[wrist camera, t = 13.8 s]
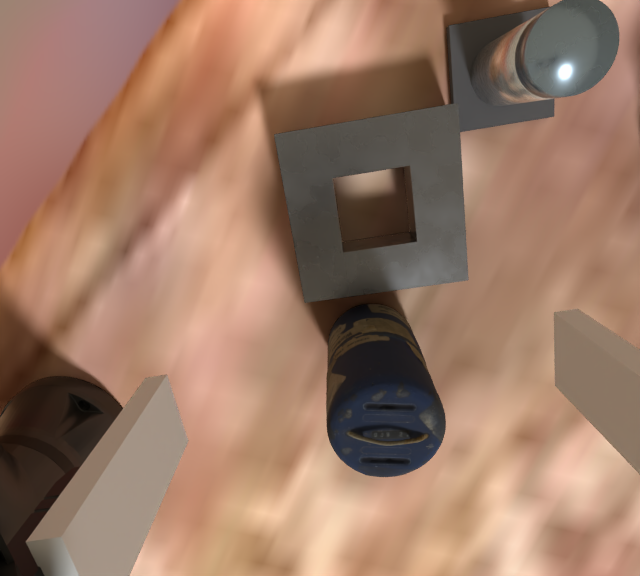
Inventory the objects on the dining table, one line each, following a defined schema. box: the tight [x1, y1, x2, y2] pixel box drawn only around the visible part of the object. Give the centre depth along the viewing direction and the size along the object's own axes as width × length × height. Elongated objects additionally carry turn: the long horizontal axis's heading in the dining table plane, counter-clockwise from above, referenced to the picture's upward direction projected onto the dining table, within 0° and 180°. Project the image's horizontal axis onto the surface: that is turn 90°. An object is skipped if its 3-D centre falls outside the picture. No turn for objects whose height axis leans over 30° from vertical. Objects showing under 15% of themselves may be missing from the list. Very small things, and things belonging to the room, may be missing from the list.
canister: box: [326, 304, 446, 477], centre depth 42 cm, size 10×10×18 cm
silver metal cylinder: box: [471, 0, 619, 106], centre depth 34 cm, size 6×6×13 cm
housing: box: [274, 103, 468, 303], centre depth 43 cm, size 16×16×4 cm
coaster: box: [447, 7, 554, 132], centre depth 41 cm, size 9×9×1 cm
